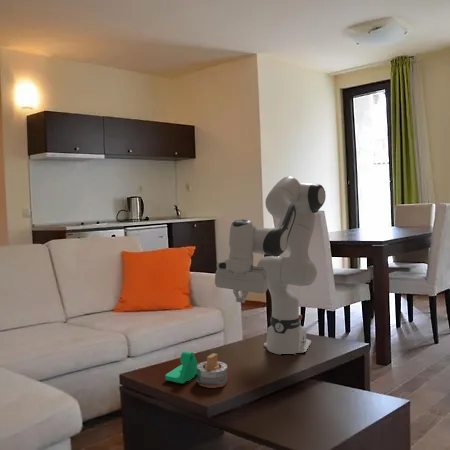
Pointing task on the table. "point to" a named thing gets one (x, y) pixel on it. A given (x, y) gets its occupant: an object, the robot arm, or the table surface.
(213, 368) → the orange stepped plug
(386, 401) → the table surface
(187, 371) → the camera mount
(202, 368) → the knurled grey ring
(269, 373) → the table surface
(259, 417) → the table surface
